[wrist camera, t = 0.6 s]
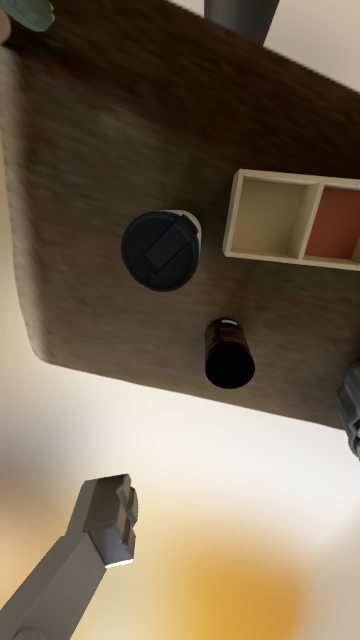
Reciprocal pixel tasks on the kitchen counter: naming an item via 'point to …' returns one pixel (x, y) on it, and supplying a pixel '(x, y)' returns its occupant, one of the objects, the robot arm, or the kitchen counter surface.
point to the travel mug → (162, 249)
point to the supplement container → (227, 355)
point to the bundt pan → (350, 405)
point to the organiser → (294, 219)
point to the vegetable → (30, 12)
